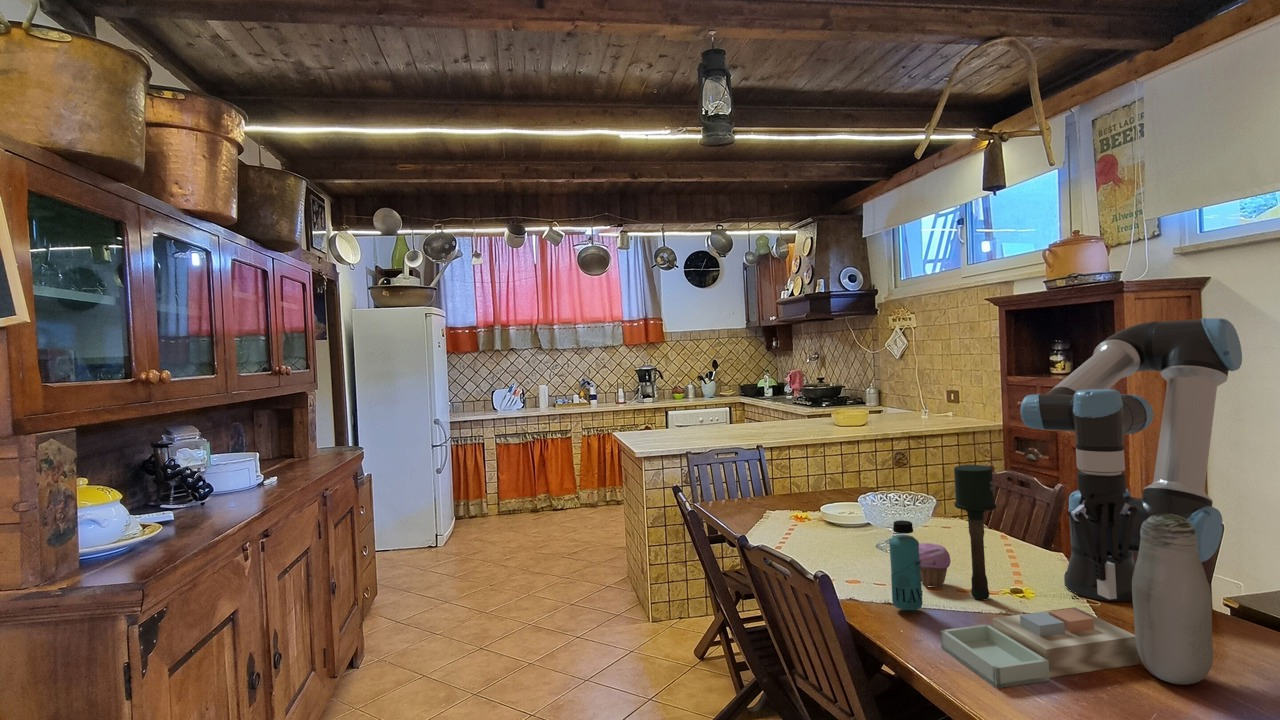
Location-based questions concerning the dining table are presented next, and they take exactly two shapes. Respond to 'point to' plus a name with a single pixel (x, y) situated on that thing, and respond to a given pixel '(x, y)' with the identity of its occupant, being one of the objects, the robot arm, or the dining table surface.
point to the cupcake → (933, 564)
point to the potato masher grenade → (975, 516)
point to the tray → (995, 656)
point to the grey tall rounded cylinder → (1172, 602)
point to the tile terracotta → (1073, 620)
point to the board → (1075, 645)
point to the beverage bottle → (905, 568)
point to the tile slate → (1042, 624)
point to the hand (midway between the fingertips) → (1107, 596)
